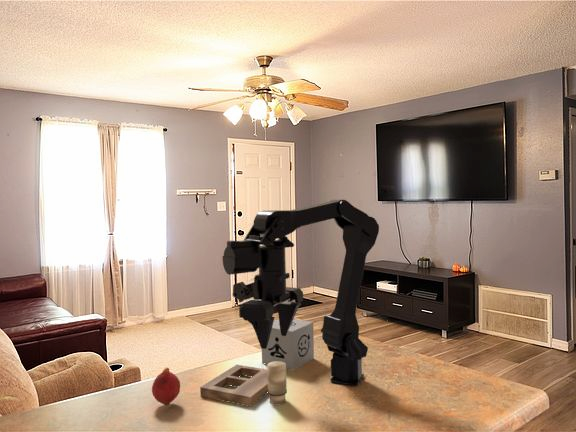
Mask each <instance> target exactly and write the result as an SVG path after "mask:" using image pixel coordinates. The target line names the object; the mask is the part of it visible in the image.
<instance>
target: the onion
mask: <svg viewBox="0 0 576 432" xmlns="http://www.w3.org/2000/svg"><path fill="white" fill-rule="evenodd" d="M180 390H181V381H180V379H179V377H178V376H177V375H176V374H174V373H173V372H171V371H170V368H169V367H164V369H163V370H162V372H161V373H160V374H159V373H158V375H157V376H156V378H155V379H154V381H153V383H152V386H151V392H152V393H151V394H152V396H153V397H154V398H155V400H156V401H157V402H158V403H161V404H162V405H164V406H169V405H170V404H171V403H172V402H173V401H175V399H176V398H177V397H178V396H179V394H180V392H181V391H180Z"/></svg>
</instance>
